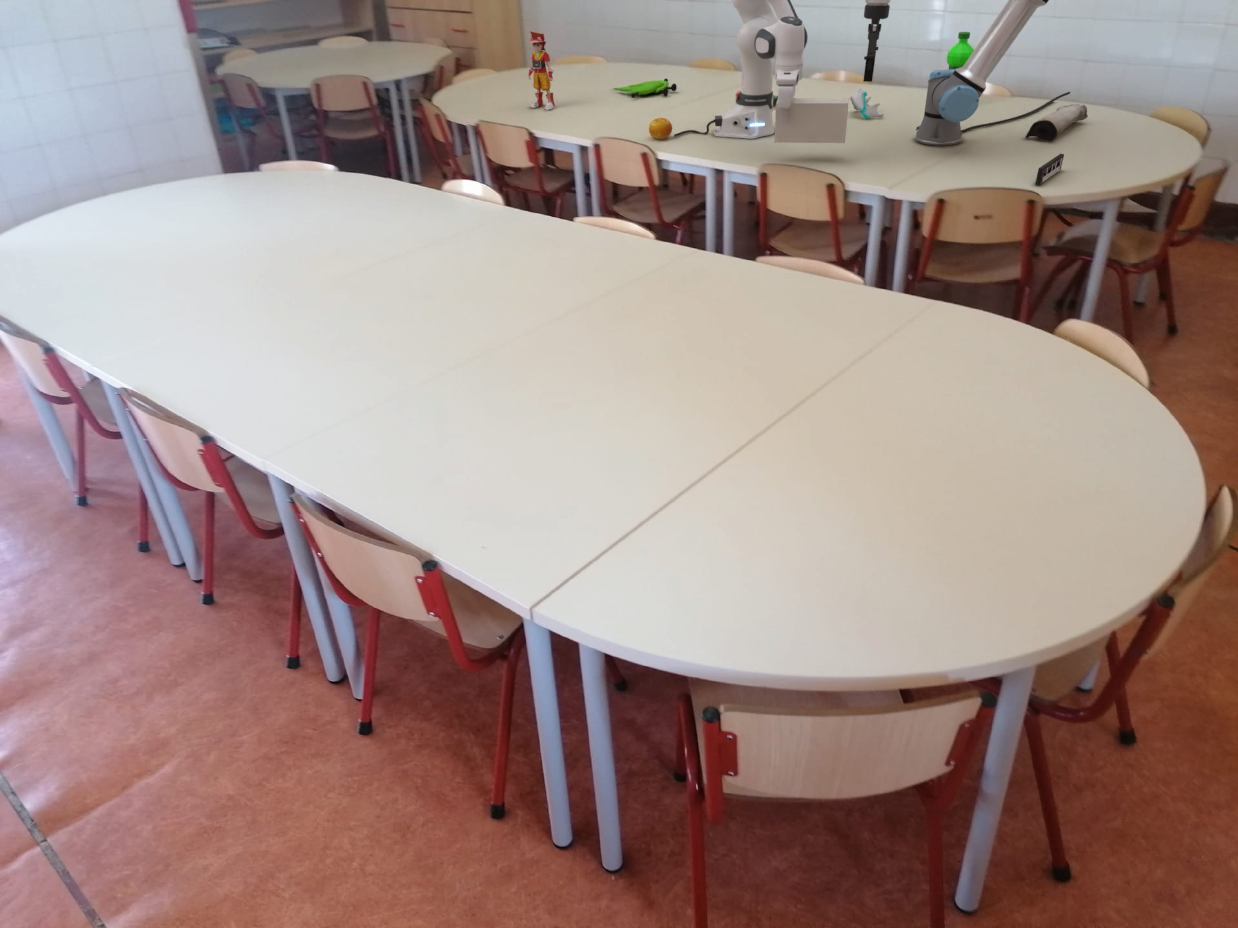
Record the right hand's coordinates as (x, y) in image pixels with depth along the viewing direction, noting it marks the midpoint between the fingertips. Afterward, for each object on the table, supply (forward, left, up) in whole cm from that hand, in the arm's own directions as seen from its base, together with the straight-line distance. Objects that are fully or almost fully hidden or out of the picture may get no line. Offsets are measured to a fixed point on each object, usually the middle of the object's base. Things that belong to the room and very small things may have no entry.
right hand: (868, 77), depth 291 cm
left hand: (+25, -9, -11) cm, 28 cm away
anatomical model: (-31, -42, -25) cm, 58 cm away
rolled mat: (-72, +13, -25) cm, 78 cm away
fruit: (+49, -56, -25) cm, 79 cm away
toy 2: (+26, -129, -25) cm, 134 cm away
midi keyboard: (-33, +51, -25) cm, 65 cm away
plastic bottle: (-71, -39, -25) cm, 85 cm away
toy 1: (+72, -128, -25) cm, 149 cm away
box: (+18, -4, -18) cm, 26 cm away
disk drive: (-5, -77, -25) cm, 81 cm away
